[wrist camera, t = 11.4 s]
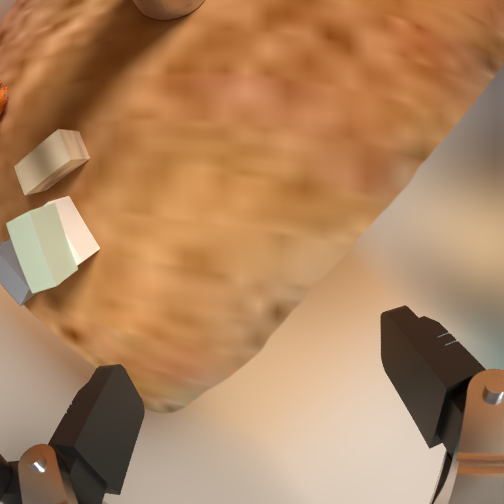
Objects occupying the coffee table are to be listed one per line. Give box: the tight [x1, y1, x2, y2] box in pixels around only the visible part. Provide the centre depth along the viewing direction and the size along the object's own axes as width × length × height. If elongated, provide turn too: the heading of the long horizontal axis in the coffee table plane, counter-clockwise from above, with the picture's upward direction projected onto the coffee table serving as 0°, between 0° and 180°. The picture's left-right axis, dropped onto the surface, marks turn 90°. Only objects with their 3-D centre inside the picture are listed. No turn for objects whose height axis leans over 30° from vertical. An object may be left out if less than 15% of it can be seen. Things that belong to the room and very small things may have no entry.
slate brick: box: [0, 239, 38, 306], centre depth 33 cm, size 8×4×5 cm, turn 44°
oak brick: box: [14, 129, 90, 196], centre depth 30 cm, size 8×4×5 cm, turn 114°
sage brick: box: [6, 203, 78, 294], centre depth 27 cm, size 8×4×5 cm, turn 15°
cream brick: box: [44, 196, 100, 266], centre depth 32 cm, size 8×4×5 cm, turn 29°
